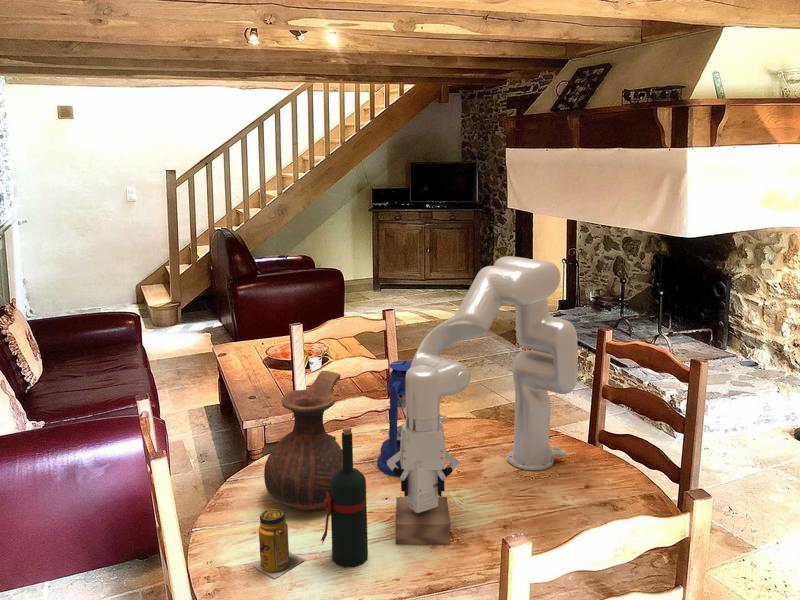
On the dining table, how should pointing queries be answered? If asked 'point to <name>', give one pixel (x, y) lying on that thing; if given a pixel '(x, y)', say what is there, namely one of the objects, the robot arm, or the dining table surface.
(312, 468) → the jug
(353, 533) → the wine bottle
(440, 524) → the walnut block
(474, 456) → the dining table surface
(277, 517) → the condiment
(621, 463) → the dining table surface
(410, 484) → the skincare box
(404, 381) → the lantern
